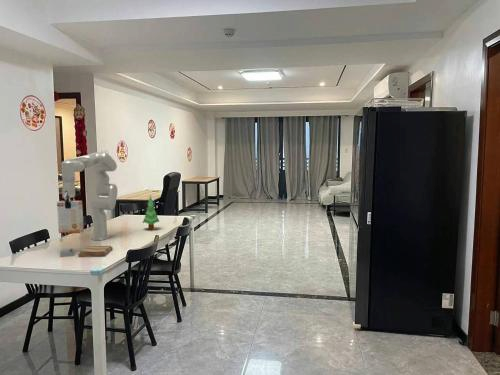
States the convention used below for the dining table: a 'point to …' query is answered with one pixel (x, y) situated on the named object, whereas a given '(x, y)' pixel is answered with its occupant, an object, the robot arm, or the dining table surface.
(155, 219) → the decorative tree
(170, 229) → the dining table surface
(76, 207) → the cracker box
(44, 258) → the dining table surface
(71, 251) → the bracket
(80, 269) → the dining table surface
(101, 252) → the plinth
